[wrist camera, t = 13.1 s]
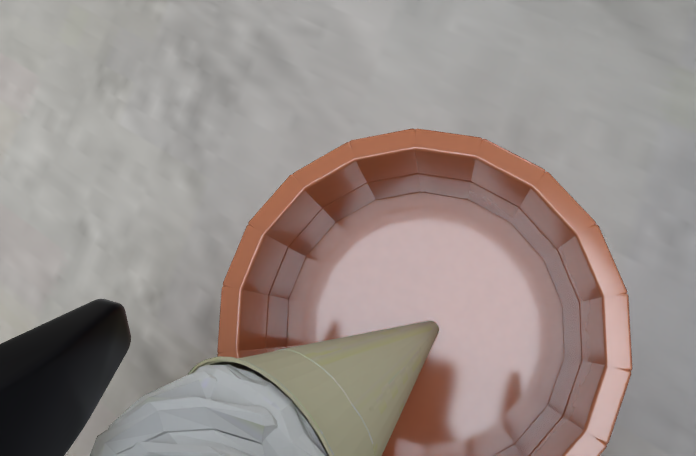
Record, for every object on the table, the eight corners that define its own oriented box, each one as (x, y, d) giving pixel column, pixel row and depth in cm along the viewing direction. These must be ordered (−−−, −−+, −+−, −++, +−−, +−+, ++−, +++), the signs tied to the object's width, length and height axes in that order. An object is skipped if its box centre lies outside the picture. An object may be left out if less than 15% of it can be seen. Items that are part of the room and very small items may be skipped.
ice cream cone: (345, 279, 20) (-248, 586, 9) (462, 230, 17) (-233, 611, 5) (405, 411, 20) (-120, 908, 8) (535, 385, 17) (-24, 1140, 5)
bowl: (556, 526, 17) (603, 605, 12) (244, 443, 19) (174, 482, 14) (601, 207, 19) (660, 161, 14) (307, 160, 21) (264, 106, 16)
